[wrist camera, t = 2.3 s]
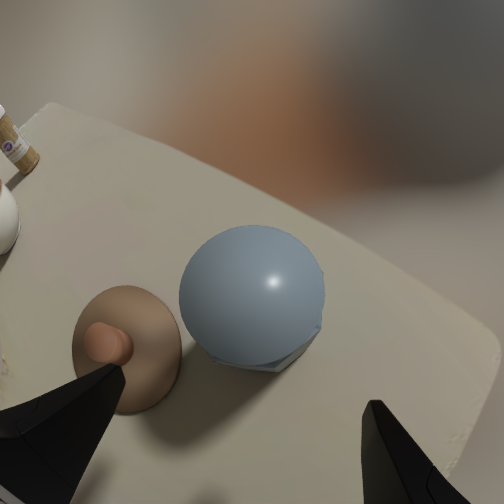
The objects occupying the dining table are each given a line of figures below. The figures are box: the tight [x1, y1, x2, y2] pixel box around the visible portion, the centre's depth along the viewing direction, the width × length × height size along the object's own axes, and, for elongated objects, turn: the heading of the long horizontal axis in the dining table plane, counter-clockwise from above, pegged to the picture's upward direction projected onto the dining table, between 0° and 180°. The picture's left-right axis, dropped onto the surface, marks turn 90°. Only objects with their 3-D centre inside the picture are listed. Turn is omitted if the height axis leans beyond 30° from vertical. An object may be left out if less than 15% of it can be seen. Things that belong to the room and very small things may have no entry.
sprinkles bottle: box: [0, 105, 39, 175], centre depth 29 cm, size 5×5×13 cm
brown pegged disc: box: [72, 286, 182, 412], centre depth 20 cm, size 11×11×4 cm
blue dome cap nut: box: [179, 225, 325, 372], centre depth 16 cm, size 6×6×10 cm
